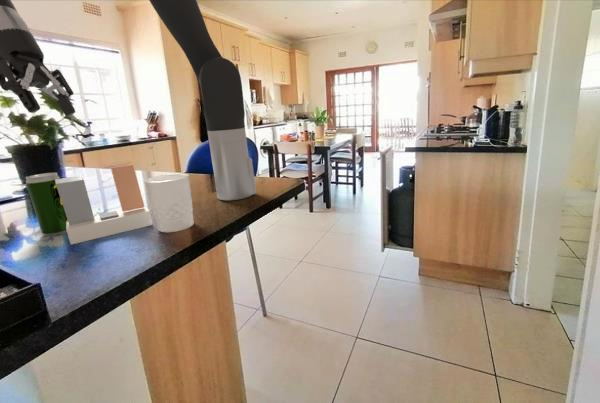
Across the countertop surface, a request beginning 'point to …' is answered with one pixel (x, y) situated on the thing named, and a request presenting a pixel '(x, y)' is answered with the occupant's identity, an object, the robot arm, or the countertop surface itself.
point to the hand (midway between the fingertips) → (54, 112)
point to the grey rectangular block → (75, 199)
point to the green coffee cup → (47, 204)
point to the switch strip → (108, 225)
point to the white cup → (171, 201)
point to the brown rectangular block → (127, 188)
